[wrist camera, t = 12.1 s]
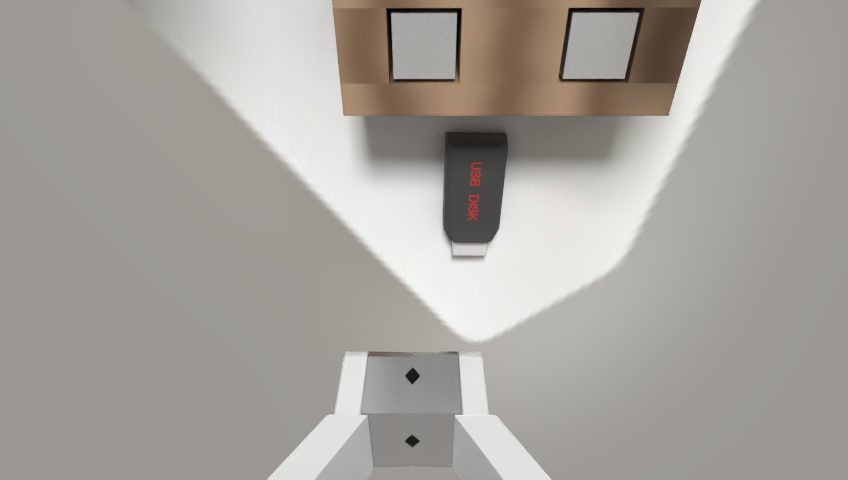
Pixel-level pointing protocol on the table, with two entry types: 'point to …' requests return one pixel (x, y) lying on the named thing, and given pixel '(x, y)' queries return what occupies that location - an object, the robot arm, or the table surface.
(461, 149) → the usb drive
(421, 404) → the robot arm
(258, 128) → the table surface
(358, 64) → the walnut block
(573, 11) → the peg right
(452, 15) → the peg left
